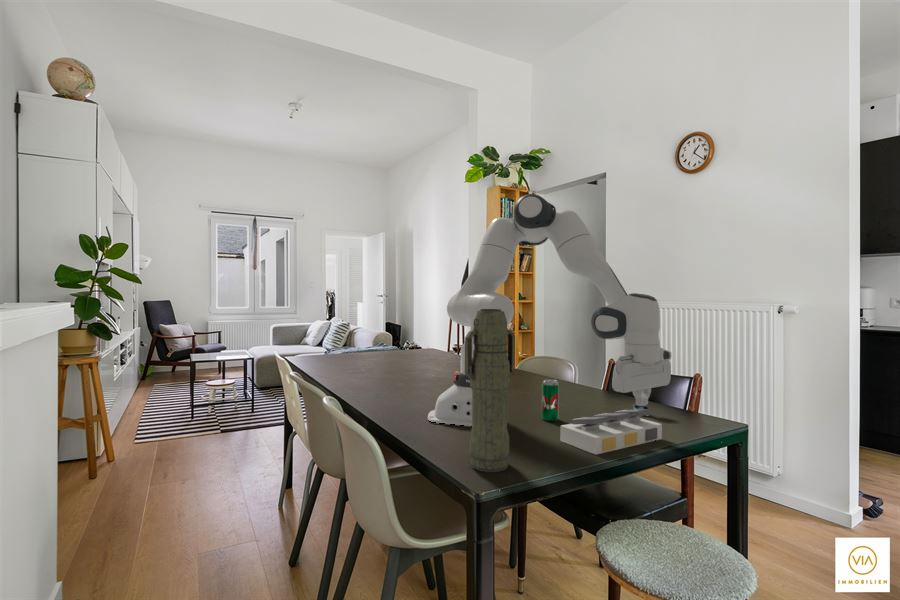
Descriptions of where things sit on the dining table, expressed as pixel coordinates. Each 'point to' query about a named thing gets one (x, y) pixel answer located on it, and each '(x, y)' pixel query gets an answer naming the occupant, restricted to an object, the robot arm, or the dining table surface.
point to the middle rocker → (614, 416)
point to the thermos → (489, 388)
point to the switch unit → (610, 434)
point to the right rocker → (635, 412)
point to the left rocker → (590, 420)
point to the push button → (640, 407)
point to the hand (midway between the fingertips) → (641, 405)
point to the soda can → (550, 400)
